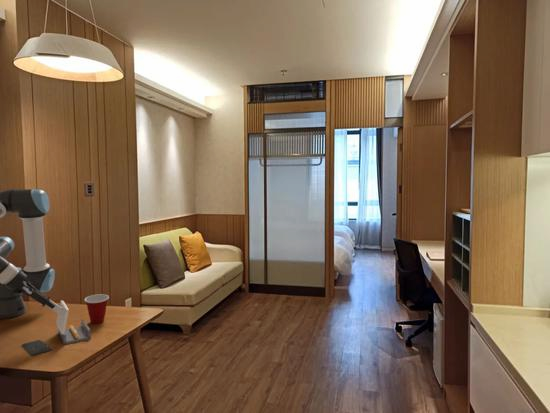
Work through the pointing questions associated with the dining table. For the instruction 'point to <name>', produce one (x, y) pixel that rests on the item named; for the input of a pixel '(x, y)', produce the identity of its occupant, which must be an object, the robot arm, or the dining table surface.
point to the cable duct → (76, 333)
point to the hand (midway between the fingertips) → (59, 311)
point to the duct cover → (62, 317)
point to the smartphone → (36, 347)
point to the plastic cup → (96, 307)
